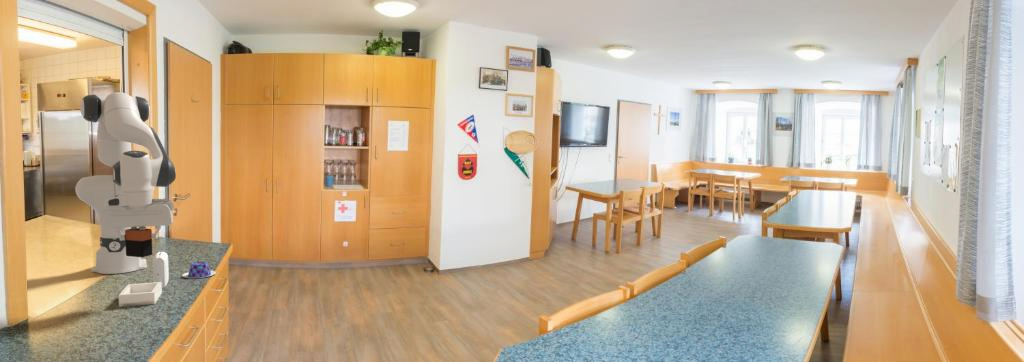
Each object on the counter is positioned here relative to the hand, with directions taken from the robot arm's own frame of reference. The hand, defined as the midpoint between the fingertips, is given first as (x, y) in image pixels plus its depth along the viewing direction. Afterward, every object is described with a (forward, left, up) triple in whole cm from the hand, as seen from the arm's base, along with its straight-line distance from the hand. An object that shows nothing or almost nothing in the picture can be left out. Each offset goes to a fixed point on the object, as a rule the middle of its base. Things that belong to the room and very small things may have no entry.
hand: (138, 239), depth 186 cm
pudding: (-28, +15, -22) cm, 39 cm away
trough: (0, 0, -21) cm, 21 cm away
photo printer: (-18, +3, -21) cm, 28 cm away
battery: (0, 0, -6) cm, 6 cm away
